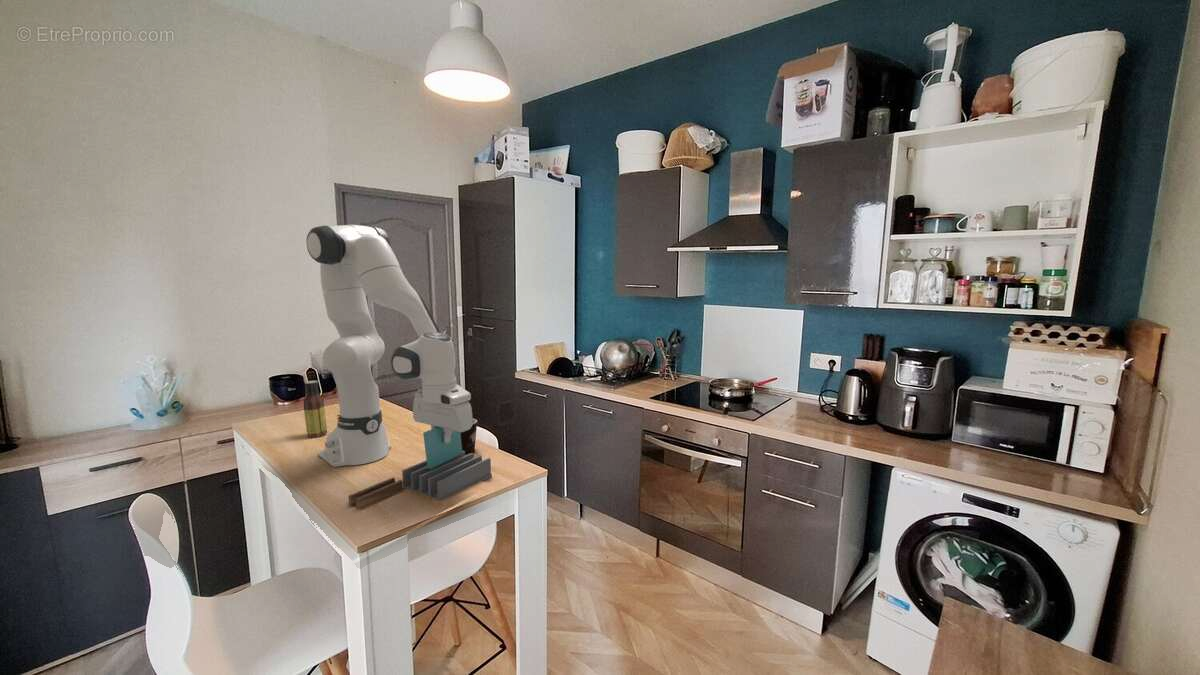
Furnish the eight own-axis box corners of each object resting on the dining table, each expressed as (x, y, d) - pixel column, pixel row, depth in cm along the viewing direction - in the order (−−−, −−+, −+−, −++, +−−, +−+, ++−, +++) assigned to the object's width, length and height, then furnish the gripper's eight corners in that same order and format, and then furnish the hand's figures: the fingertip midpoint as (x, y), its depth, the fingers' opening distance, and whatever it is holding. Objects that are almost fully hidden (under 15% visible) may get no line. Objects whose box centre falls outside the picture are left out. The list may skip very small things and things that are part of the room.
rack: (402, 489, 121) (401, 469, 121) (455, 465, 137) (454, 448, 136) (440, 503, 114) (439, 482, 113) (491, 476, 129) (491, 458, 128)
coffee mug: (468, 444, 154) (467, 416, 153) (483, 450, 148) (482, 421, 147) (436, 455, 145) (435, 424, 144) (452, 461, 140) (450, 430, 138)
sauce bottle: (322, 431, 167) (318, 378, 165) (330, 434, 164) (326, 380, 161) (303, 436, 162) (298, 381, 159) (310, 439, 158) (306, 384, 156)
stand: (347, 506, 112) (346, 494, 111) (391, 487, 122) (390, 476, 122) (361, 513, 109) (360, 500, 108) (405, 493, 119) (404, 481, 119)
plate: (427, 467, 121) (423, 432, 119) (459, 452, 131) (455, 419, 129) (430, 469, 121) (426, 433, 119) (462, 452, 130) (459, 419, 128)
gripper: (405, 390, 125) (408, 438, 127) (456, 400, 115) (459, 452, 117) (424, 385, 131) (427, 431, 132) (475, 394, 120) (477, 444, 122)
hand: (442, 441), depth 124 cm, fingers closed on plate, 1 cm apart
